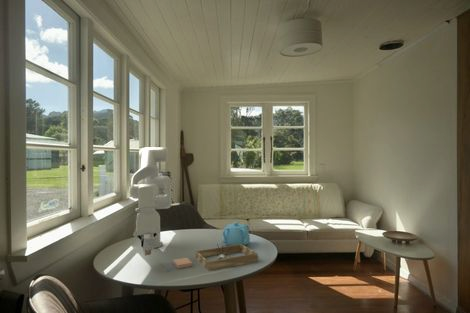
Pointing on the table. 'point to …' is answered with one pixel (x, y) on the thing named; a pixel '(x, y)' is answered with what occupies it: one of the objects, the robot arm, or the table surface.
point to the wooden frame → (234, 261)
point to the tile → (182, 263)
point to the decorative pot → (236, 234)
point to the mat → (171, 267)
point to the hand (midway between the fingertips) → (147, 247)
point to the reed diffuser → (221, 255)
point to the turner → (148, 245)
